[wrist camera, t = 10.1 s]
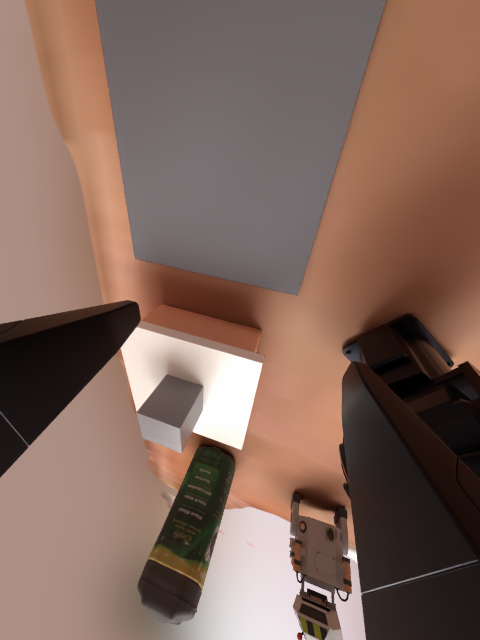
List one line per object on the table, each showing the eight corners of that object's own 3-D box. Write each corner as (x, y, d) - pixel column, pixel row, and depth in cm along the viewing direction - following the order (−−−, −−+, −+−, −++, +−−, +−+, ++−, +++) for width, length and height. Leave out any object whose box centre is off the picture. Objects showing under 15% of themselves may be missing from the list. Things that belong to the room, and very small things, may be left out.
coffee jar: (195, 438, 39) (120, 599, 23) (237, 452, 37) (185, 635, 22) (199, 464, 44) (139, 610, 28) (235, 477, 42) (192, 639, 27)
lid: (264, 355, 18) (249, 411, 13) (243, 441, 25) (229, 495, 21) (122, 315, 20) (67, 350, 16) (141, 405, 28) (109, 446, 23)
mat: (429, -148, 9) (434, -161, 8) (297, 294, 19) (297, 295, 19) (83, -107, 11) (77, -116, 11) (137, 257, 22) (135, 258, 22)
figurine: (287, 511, 43) (279, 638, 31) (294, 486, 37) (287, 631, 25) (335, 527, 41) (345, 671, 29) (350, 504, 35) (371, 671, 23)
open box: (261, 330, 23) (251, 360, 18) (246, 400, 29) (236, 434, 25) (162, 304, 25) (132, 326, 20) (168, 374, 31) (147, 402, 27)
